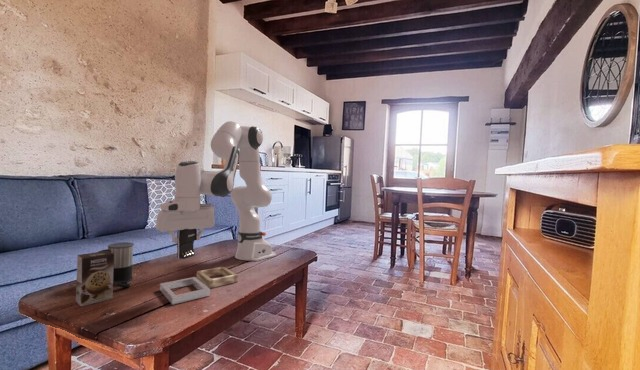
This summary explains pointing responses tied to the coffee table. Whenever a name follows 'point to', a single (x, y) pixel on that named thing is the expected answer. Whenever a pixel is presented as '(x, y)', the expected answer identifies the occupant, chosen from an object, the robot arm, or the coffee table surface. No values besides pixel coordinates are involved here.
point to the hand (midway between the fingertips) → (186, 241)
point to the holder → (175, 299)
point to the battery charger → (186, 243)
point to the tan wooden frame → (210, 283)
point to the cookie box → (94, 277)
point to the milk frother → (121, 262)
